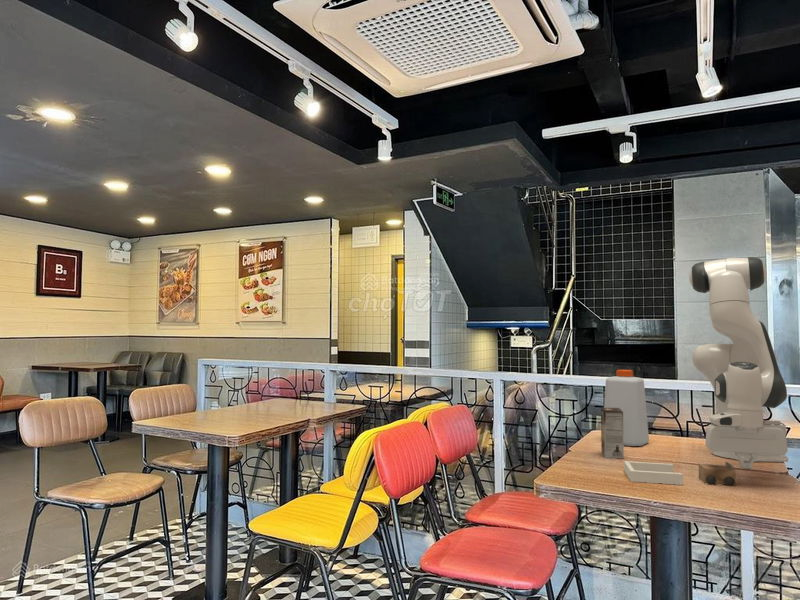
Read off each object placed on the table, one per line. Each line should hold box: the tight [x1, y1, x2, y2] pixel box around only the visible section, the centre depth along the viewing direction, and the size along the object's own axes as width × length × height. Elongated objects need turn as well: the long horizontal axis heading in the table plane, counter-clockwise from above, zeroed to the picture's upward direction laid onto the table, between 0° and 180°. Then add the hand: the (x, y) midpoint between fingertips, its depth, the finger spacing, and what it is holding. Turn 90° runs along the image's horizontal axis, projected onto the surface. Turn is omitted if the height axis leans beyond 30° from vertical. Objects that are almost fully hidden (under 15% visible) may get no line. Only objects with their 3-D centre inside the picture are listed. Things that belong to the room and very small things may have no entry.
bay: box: [623, 460, 684, 486], centre depth 168 cm, size 14×13×3 cm
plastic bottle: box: [603, 369, 650, 447], centre depth 221 cm, size 15×15×28 cm
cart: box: [698, 461, 737, 487], centre depth 164 cm, size 8×7×5 cm
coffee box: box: [600, 407, 625, 460], centre depth 197 cm, size 9×6×16 cm
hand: (746, 468), depth 162 cm, fingers closed
